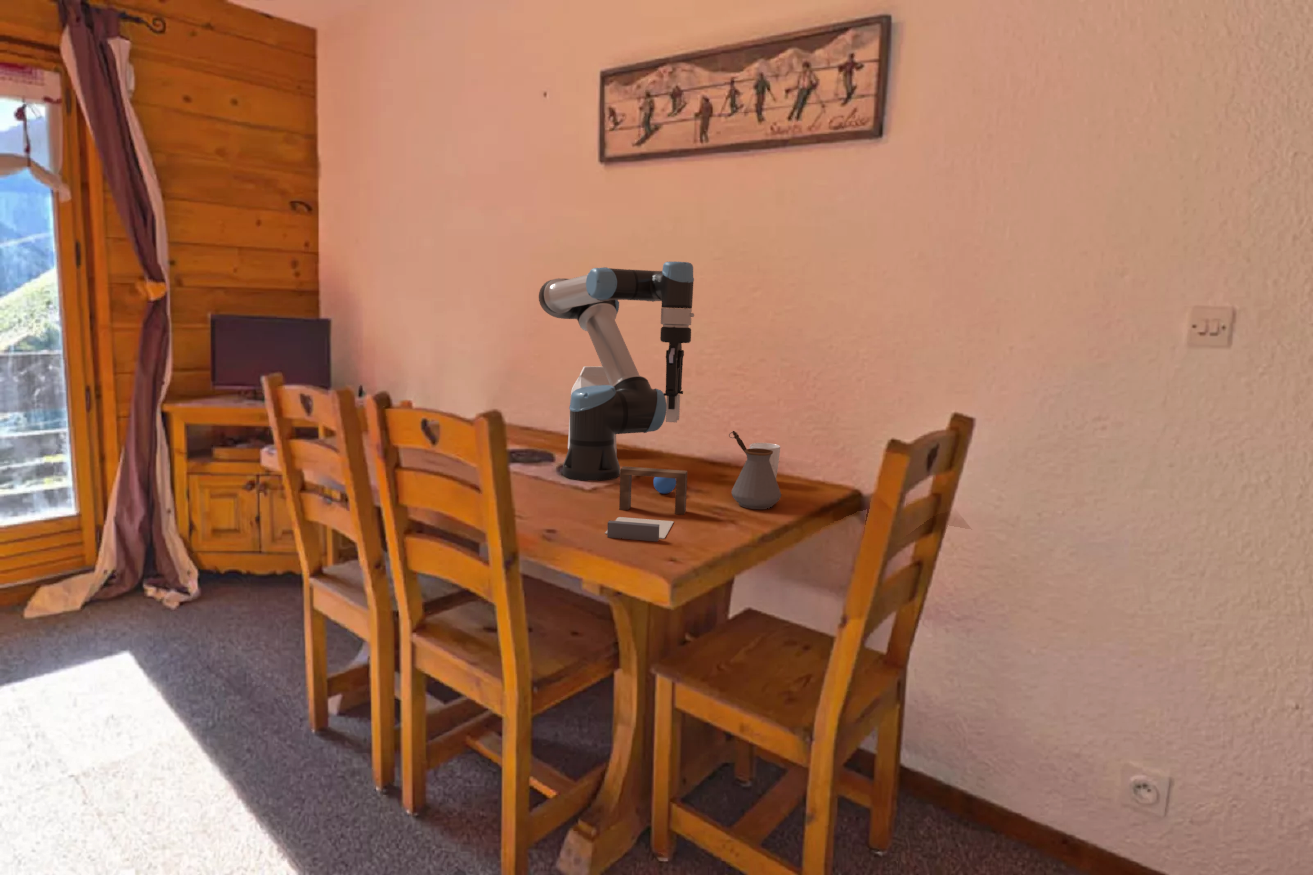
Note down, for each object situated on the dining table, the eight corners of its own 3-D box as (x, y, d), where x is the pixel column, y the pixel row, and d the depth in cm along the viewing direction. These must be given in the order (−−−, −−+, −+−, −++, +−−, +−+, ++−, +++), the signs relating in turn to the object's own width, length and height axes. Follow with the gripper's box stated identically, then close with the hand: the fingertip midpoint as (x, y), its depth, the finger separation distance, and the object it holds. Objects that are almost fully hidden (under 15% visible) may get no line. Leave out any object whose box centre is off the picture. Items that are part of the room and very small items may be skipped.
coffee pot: (789, 510, 175) (793, 445, 172) (742, 513, 171) (746, 447, 169) (750, 488, 195) (754, 429, 192) (708, 490, 191) (711, 430, 189)
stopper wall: (607, 537, 150) (607, 522, 150) (609, 535, 152) (609, 520, 151) (657, 541, 148) (658, 526, 148) (658, 539, 150) (659, 524, 149)
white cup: (777, 487, 196) (779, 449, 194) (746, 485, 198) (748, 447, 196) (778, 480, 204) (781, 443, 202) (749, 478, 205) (751, 441, 204)
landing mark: (604, 533, 152) (604, 532, 152) (618, 517, 164) (618, 516, 164) (664, 539, 150) (664, 538, 150) (673, 522, 162) (673, 521, 162)
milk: (578, 456, 227) (580, 368, 223) (567, 448, 238) (568, 365, 233) (616, 454, 232) (618, 368, 227) (604, 447, 242) (606, 365, 238)
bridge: (619, 509, 170) (620, 469, 169) (622, 506, 173) (623, 466, 172) (683, 514, 168) (685, 473, 166) (685, 511, 171) (687, 470, 169)
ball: (651, 495, 184) (651, 472, 183) (655, 489, 189) (655, 468, 188) (673, 496, 183) (674, 474, 182) (677, 491, 188) (678, 469, 187)
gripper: (686, 327, 180) (682, 426, 184) (695, 326, 195) (691, 417, 199) (655, 326, 181) (652, 424, 185) (666, 324, 196) (663, 415, 200)
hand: (672, 420), depth 192 cm, fingers open, 3 cm apart
